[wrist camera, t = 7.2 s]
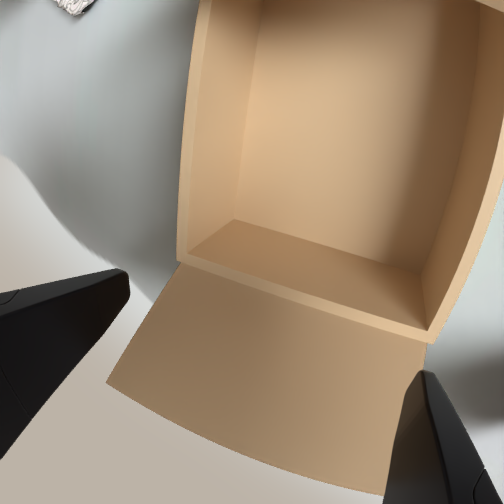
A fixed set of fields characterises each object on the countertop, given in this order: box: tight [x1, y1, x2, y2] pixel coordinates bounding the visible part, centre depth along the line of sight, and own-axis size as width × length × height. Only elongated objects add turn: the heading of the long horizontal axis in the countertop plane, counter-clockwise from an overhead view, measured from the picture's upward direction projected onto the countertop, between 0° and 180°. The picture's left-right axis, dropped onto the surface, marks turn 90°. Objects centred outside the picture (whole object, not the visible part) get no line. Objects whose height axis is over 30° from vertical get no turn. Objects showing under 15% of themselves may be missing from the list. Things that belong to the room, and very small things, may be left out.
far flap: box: [106, 262, 427, 496], centre depth 13 cm, size 7×12×1 cm
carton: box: [176, 0, 504, 345], centre depth 13 cm, size 18×13×6 cm
